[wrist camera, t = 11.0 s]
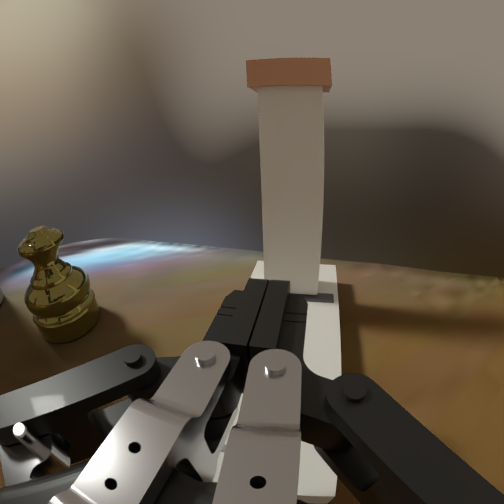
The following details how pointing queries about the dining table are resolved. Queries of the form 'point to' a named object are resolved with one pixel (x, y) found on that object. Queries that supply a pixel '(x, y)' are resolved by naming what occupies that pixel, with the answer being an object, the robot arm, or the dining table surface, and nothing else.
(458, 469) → the robot arm
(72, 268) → the brass knobbed piece
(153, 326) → the dining table surface
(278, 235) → the fader tab
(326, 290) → the white scale plate
